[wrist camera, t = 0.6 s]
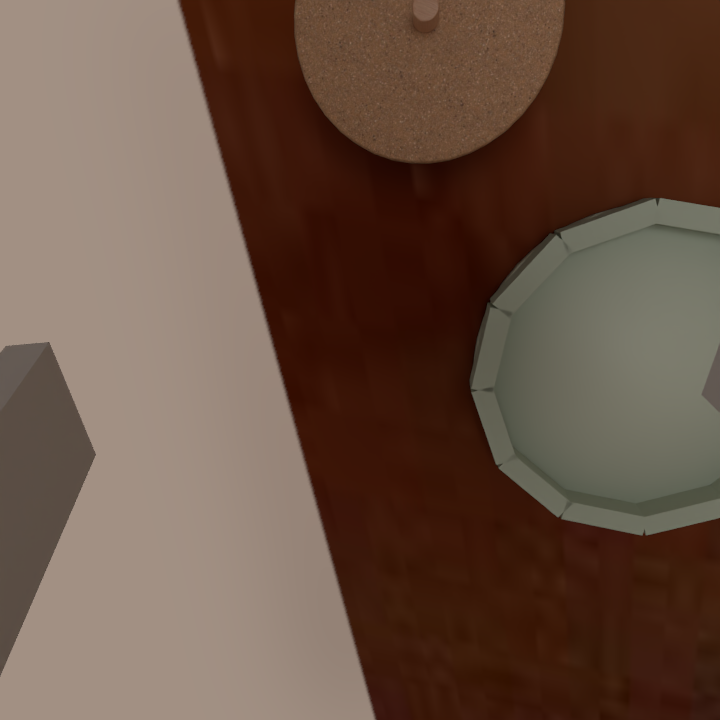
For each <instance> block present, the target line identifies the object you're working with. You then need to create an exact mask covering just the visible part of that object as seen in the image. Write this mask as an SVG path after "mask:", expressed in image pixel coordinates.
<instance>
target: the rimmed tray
mask: <svg viewBox="0 0 720 720" xmlns="http://www.w3.org/2000/svg"><path fill="white" fill-rule="evenodd" d="M490 301H491V302H490V303H487V307H486V311H485V315H484V317H483V320H482V323H481V326H480V330H479V333H478V336H477V340H476V347H475V353H474V363H473V367H472V372H471V376H470V380H469V381H470V388H471V393H472V396H473V399H474V401H475V404H476V407H477V410H478V413H479V416H480V419H481V422H482V425H483V428H484V431H485V434H486V436H487V439H488V442H489V445H490V448H491V451H492V454H493V457H494V460H495V463H496V465H498V468H499V469H500V470H501V471H502V472H504V473H505V474H506V475H507V476H508V477H510V478H511V479H512V480H513V481H515V482H516V483H517V484H518V485H519V486H521V487H522V488H523V489H524V490H525V491H527V492H528V493H529V494H530V495H531V496H533V497H534V498H535V499H536V500H538V501H539V502H540V503H541V504H542V505H544V506H545V507H546V508H547V509H548V510H550V511H551V512H552V513H553V514H555V515H556V516H557V517H559V516H560V517H561V519H564V520H569V521H574V522H579V523H584V524H589V525H593V526H598V527H603V528H608V529H613V530H618V531H623V532H628V533H633V534H637V535H643V532H644V533H645V534H646V535H650V534H654V533H658V532H662V531H667V530H671V529H675V528H679V527H683V526H688V525H692V524H696V523H700V522H704V521H708V520H713V519H717V518H720V413H719V412H718V411H717V410H716V409H715V408H714V407H713V406H712V405H711V404H710V403H709V402H708V401H707V400H706V399H705V398H704V397H703V396H702V395H701V394H702V391H703V389H704V386H705V383H706V380H707V377H708V375H709V372H710V369H711V366H712V363H713V361H714V358H715V355H716V352H717V349H718V347H719V344H720V208H717V207H711V206H705V205H699V204H693V203H687V202H681V201H675V200H669V199H663V198H649V199H641V200H639V201H636V202H633V203H630V204H627V205H625V206H622V207H617V208H613V209H610V210H606V211H603V212H599V213H596V214H593V215H590V216H588V217H586V218H583V219H581V220H579V221H576V222H574V223H572V224H570V225H568V226H566V227H563V228H560V229H557V230H554V234H551V233H550V234H549V235H548V236H547V237H546V238H545V239H544V240H543V242H541V243H540V244H539V245H538V246H536V247H535V248H534V249H532V250H531V251H530V252H529V253H528V254H527V255H526V256H525V257H524V258H523V259H522V260H521V261H520V262H519V263H518V264H517V265H516V266H515V267H514V268H513V270H512V271H511V272H510V273H509V275H508V276H507V277H506V278H505V279H504V281H503V282H502V284H501V285H500V287H499V288H498V290H497V291H496V293H495V294H494V295H493V296H492V297H491V298H490Z"/></svg>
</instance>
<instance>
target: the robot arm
mask: <svg viewBox="0 0 720 720" xmlns="http://www.w3.org/2000/svg"><path fill="white" fill-rule="evenodd" d="M701 395H702V396H703V397H704V398H705V399H706V400H707V401H708V402H709V403H710V404H711V405H712V406H713V407H714V408H715V409H716V410H717V411H718V412H719V413H720V344H719V347H718V349H717V352H716V355H715V358H714V361H713V363H712V366H711V369H710V372H709V375H708V377H707V380H706V383H705V386H704V389H703V391H702V394H701ZM95 455H96V454H95V451H94V449H93V447H92V444H91V442H90V439H89V437H88V435H87V432H86V430H85V427H84V425H83V423H82V420H81V418H80V415H79V413H78V410H77V408H76V406H75V403H74V401H73V399H72V396H71V394H70V391H69V389H68V387H67V384H66V382H65V379H64V377H63V374H62V372H61V369H60V367H59V365H58V362H57V360H56V357H55V355H54V353H53V350H52V348H51V345H50V343H49V342H47V343H35V344H24V345H13V346H6V347H5V348H4V349H3V350H2V352H1V353H0V675H1V673H2V671H3V668H4V666H5V664H6V661H7V659H8V657H9V654H10V652H11V650H12V647H13V645H14V643H15V641H16V638H17V636H18V634H19V631H20V629H21V627H22V624H23V622H24V620H25V617H26V615H27V613H28V610H29V608H30V606H31V603H32V601H33V599H34V597H35V594H36V592H37V590H38V587H39V585H40V582H41V580H42V578H43V576H44V573H45V571H46V568H47V566H48V564H49V562H50V560H51V557H52V555H53V553H54V550H55V548H56V546H57V543H58V541H59V539H60V536H61V534H62V532H63V529H64V527H65V525H66V522H67V520H68V518H69V515H70V513H71V511H72V509H73V506H74V504H75V502H76V499H77V497H78V494H79V492H80V490H81V487H82V485H83V483H84V481H85V478H86V476H87V473H88V471H89V469H90V467H91V465H92V462H93V460H94V457H95Z"/></svg>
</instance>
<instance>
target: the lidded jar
mask: <svg viewBox="0 0 720 720" xmlns="http://www.w3.org/2000/svg"><path fill="white" fill-rule="evenodd" d="M564 13H565V0H295V9H294V34H295V42H296V48H297V54H298V59H299V63H300V66H301V69H302V72H303V75H304V79H305V81H306V83H307V85H308V87H309V89H310V91H311V94H312V96H313V98H314V100H315V101H316V102H317V104H318V105H319V107H320V108H321V110H322V111H323V113H324V114H325V116H326V117H327V118H328V119H329V120H330V121H331V122H332V123H333V125H334V126H335V127H336V128H337V129H338V130H339V131H340V132H341V133H343V134H344V135H345V136H346V137H348V138H349V139H350V140H351V141H353V142H354V143H355V144H357V145H359V146H360V147H362V148H364V149H366V150H368V151H370V152H371V153H373V154H376V155H378V156H381V157H384V158H387V159H390V160H394V161H399V162H405V163H420V164H431V163H437V162H443V161H449V160H452V159H455V158H458V157H462V156H465V155H468V154H470V153H472V152H474V151H476V150H478V149H480V148H482V147H484V146H485V145H487V144H489V143H490V142H492V141H493V140H494V139H496V138H497V137H499V136H500V135H501V134H503V133H504V132H505V131H506V130H508V129H509V128H510V127H511V126H512V125H513V124H514V123H515V122H516V121H517V120H518V119H519V118H520V117H521V116H522V115H523V114H524V112H525V111H526V110H527V108H528V107H529V106H530V104H531V103H532V102H533V100H534V99H535V98H536V97H537V95H538V93H539V91H540V90H541V88H542V86H543V84H544V83H545V81H546V79H547V77H548V75H549V73H550V70H551V68H552V65H553V63H554V60H555V58H556V55H557V52H558V48H559V44H560V39H561V35H562V31H563V23H564Z"/></svg>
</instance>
